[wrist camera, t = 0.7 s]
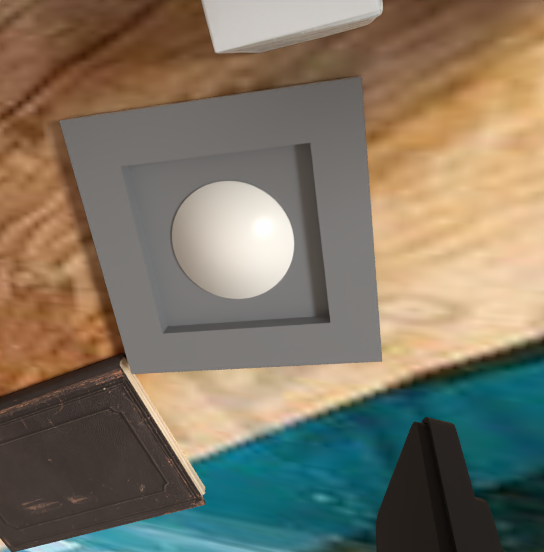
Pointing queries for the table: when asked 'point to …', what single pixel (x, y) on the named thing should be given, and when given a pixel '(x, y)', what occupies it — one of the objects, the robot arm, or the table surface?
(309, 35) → the supplement box
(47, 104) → the table surface
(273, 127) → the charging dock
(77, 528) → the hardcover book
